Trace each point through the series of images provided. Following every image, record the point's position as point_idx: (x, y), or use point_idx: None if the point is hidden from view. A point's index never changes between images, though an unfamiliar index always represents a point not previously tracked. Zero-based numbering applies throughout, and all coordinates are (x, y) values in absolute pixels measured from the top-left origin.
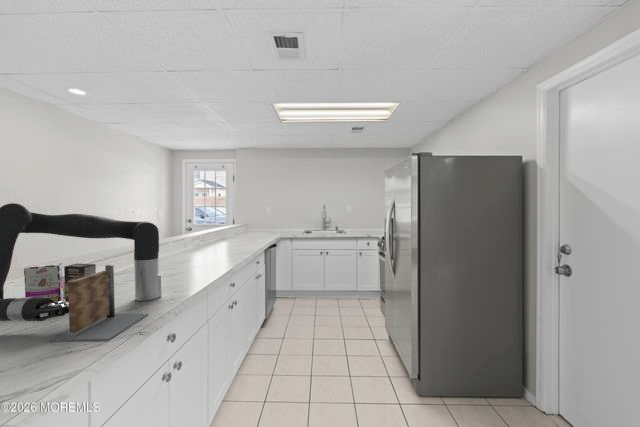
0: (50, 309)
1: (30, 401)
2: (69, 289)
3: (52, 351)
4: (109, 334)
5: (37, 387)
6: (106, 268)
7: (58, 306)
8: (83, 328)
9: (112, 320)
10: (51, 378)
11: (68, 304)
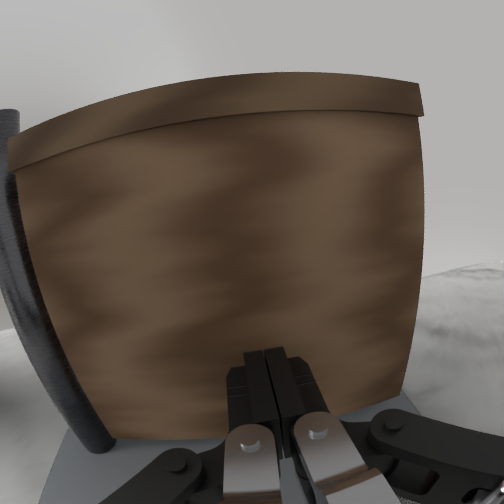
0: (488, 454)
1: (499, 261)
2: (414, 137)
3: (468, 365)
4: None
5: (496, 274)
6: (10, 126)
7: (388, 500)
8: (283, 456)
9: None
10: (481, 279)
11: (269, 478)
